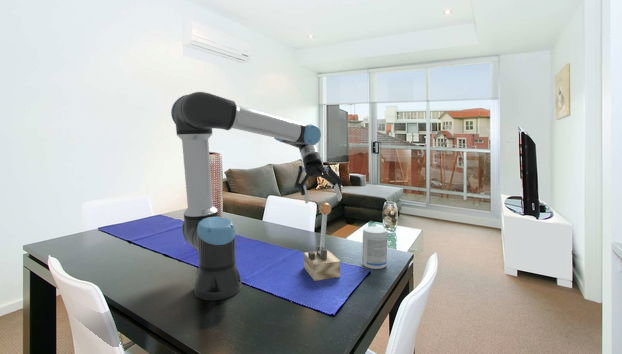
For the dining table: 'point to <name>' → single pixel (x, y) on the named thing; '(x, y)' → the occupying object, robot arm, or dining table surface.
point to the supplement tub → (374, 247)
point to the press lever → (323, 224)
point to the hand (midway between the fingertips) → (324, 200)
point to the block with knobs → (321, 264)
